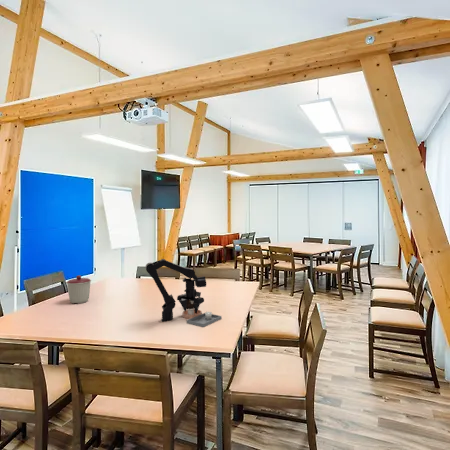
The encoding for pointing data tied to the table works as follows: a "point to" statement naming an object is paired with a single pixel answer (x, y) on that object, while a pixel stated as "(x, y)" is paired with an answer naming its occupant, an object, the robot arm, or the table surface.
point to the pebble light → (190, 312)
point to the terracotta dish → (185, 315)
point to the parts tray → (203, 320)
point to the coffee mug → (189, 304)
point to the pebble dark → (208, 315)
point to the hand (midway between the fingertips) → (190, 312)
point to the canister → (78, 289)
